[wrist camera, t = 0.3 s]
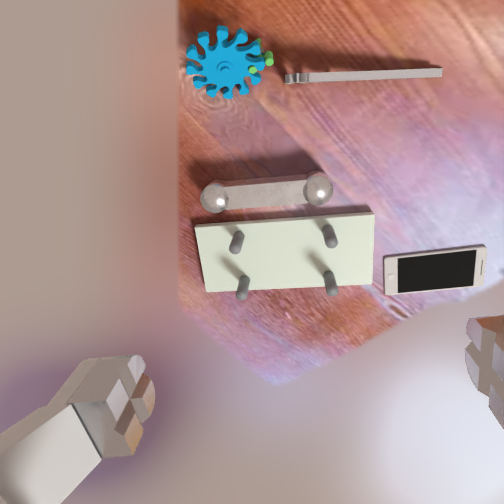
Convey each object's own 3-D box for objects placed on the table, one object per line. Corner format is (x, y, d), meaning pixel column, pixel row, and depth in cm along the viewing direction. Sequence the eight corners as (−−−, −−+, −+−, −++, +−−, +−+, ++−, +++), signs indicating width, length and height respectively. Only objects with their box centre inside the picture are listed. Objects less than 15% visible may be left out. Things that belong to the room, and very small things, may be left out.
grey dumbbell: (204, 180, 54) (198, 186, 50) (329, 169, 51) (332, 174, 48) (208, 206, 56) (203, 214, 52) (329, 196, 53) (333, 204, 50)
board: (196, 224, 57) (186, 239, 51) (372, 211, 53) (383, 226, 48) (208, 287, 62) (200, 308, 56) (369, 279, 58) (379, 300, 52)
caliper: (285, 84, 48) (284, 83, 42) (285, 76, 47) (284, 73, 41) (440, 77, 46) (462, 74, 40) (441, 67, 45) (464, 63, 39)
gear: (192, 104, 48) (177, 36, 39) (191, 72, 50) (177, 0, 41) (271, 99, 48) (276, 31, 39) (268, 68, 50) (271, -4, 41)
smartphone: (383, 256, 57) (384, 258, 56) (484, 244, 54) (488, 246, 54) (383, 293, 60) (385, 296, 59) (480, 283, 57) (483, 286, 56)
